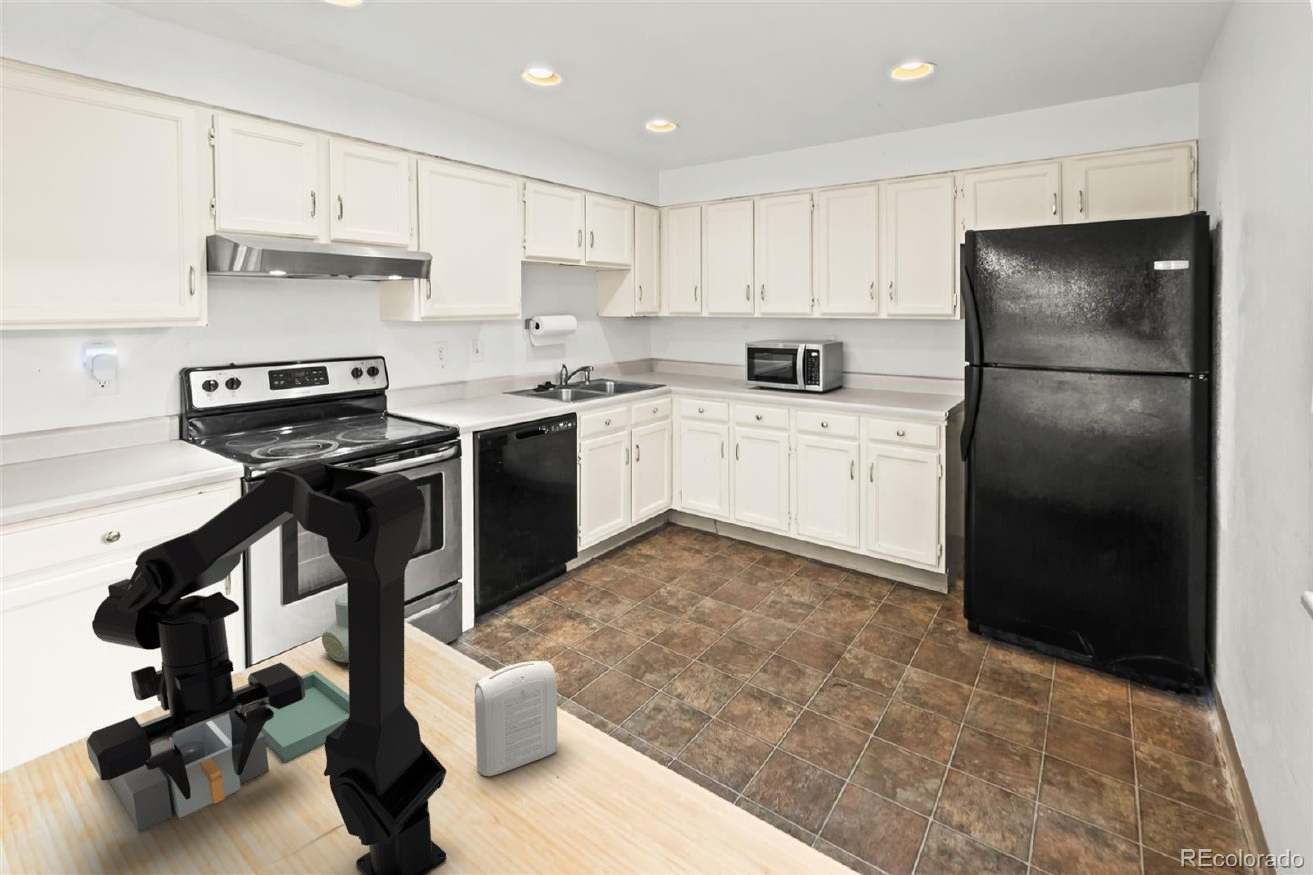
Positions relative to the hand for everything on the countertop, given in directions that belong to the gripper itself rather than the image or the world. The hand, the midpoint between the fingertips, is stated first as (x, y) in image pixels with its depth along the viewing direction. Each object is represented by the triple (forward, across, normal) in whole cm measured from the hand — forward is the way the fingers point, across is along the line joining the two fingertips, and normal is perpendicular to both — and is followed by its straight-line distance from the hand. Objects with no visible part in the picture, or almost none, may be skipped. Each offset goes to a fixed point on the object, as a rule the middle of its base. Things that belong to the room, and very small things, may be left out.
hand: (213, 785), depth 74 cm
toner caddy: (+4, 0, -4) cm, 6 cm away
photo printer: (+4, -28, +18) cm, 33 cm away
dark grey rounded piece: (+3, 0, -8) cm, 8 cm away
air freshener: (+4, -28, -22) cm, 35 cm away
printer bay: (+4, 0, -10) cm, 10 cm away
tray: (+4, -14, -10) cm, 17 cm away
